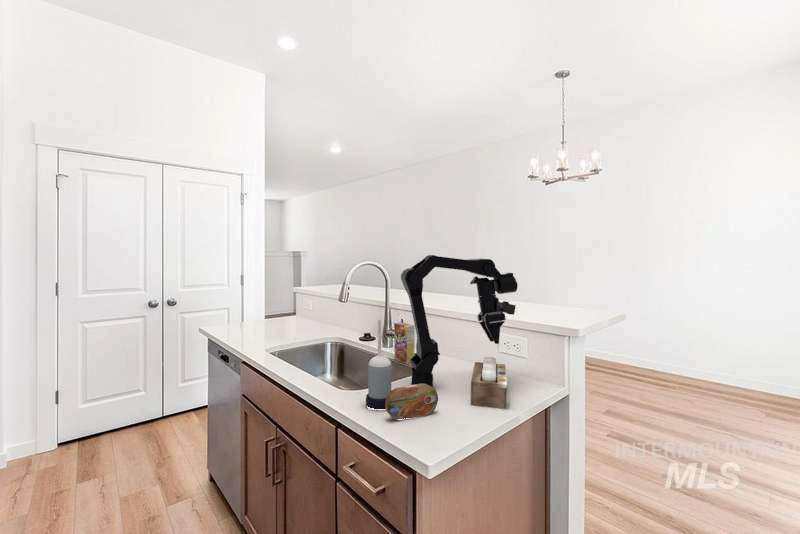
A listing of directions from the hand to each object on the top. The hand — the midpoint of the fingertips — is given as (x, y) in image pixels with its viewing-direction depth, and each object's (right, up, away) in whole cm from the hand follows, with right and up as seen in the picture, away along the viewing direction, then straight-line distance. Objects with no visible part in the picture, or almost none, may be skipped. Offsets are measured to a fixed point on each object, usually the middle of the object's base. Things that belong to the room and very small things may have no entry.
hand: (494, 342), depth 125 cm
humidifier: (-37, -15, -15) cm, 43 cm away
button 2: (-2, -10, 0) cm, 10 cm away
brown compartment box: (-3, -15, -6) cm, 17 cm away
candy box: (-30, -14, +29) cm, 44 cm away
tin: (-28, -16, -22) cm, 39 cm away
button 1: (-5, -10, -13) cm, 17 cm away
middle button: (-3, -10, -6) cm, 12 cm away
